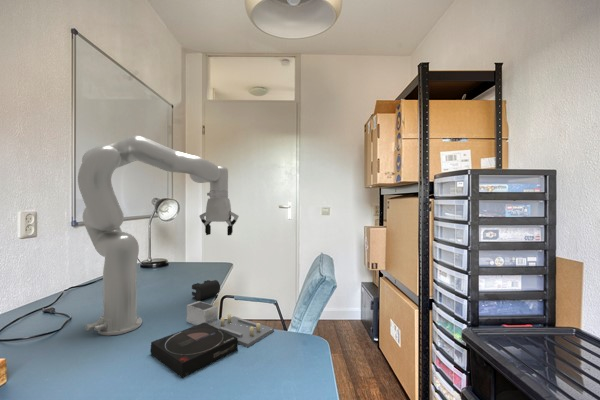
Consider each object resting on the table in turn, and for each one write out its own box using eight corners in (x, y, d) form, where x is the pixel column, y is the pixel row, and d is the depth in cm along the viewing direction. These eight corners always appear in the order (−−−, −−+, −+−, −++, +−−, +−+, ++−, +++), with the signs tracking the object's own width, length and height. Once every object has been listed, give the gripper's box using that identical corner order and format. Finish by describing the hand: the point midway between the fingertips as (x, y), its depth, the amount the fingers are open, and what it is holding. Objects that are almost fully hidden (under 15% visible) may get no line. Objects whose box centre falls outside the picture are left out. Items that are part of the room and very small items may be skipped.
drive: (205, 329, 95) (205, 310, 95) (186, 322, 101) (186, 304, 101) (217, 323, 100) (217, 306, 99) (198, 317, 105) (198, 300, 105)
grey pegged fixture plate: (247, 347, 83) (247, 335, 83) (206, 332, 93) (206, 321, 93) (273, 331, 93) (273, 320, 93) (233, 319, 103) (233, 309, 103)
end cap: (201, 302, 120) (201, 286, 120) (190, 299, 124) (190, 283, 124) (220, 296, 128) (220, 280, 128) (210, 293, 132) (210, 278, 132)
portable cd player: (203, 334, 93) (203, 321, 93) (237, 352, 82) (237, 337, 82) (150, 355, 80) (150, 341, 80) (182, 380, 69) (182, 363, 69)
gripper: (195, 195, 123) (195, 235, 123) (235, 195, 121) (235, 236, 121) (204, 195, 130) (204, 233, 130) (241, 195, 128) (241, 234, 128)
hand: (218, 234), depth 125 cm, fingers open, 9 cm apart
